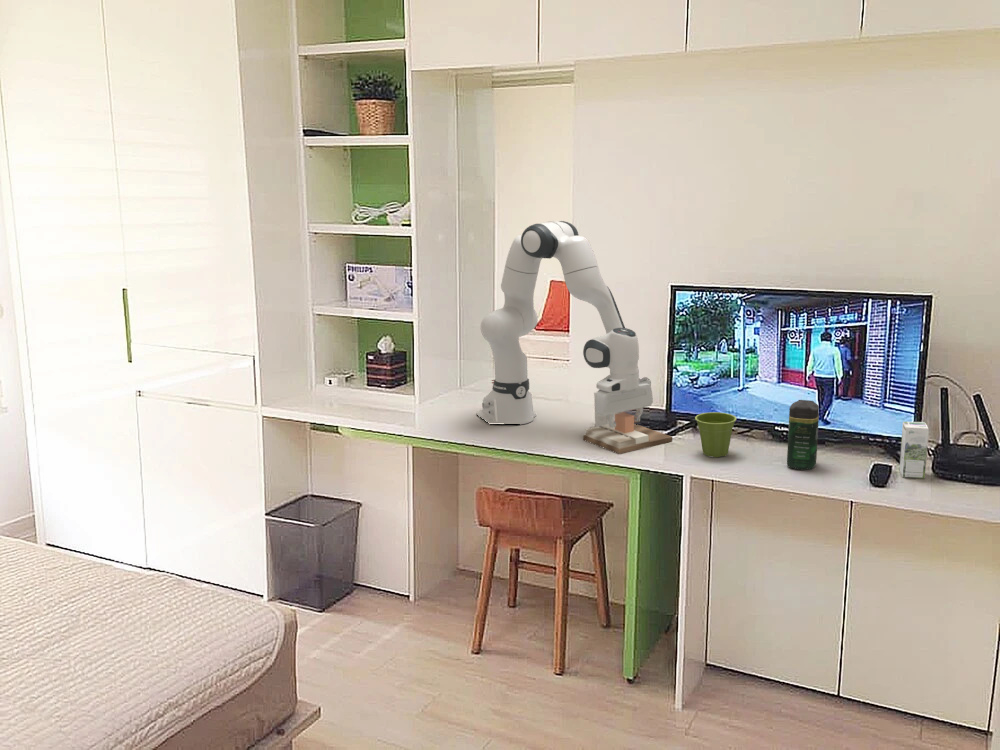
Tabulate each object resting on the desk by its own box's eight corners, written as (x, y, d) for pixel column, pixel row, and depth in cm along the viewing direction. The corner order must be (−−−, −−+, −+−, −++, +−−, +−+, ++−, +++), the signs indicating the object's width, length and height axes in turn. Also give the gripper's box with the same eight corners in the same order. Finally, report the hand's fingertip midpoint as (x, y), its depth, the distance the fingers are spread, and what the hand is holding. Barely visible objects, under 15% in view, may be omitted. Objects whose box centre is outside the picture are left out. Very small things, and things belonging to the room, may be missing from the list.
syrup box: (921, 472, 257) (925, 421, 253) (925, 479, 251) (929, 427, 248) (899, 471, 258) (902, 420, 255) (902, 478, 253) (905, 426, 249)
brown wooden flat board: (583, 439, 296) (583, 429, 295) (635, 428, 306) (635, 417, 305) (619, 454, 281) (618, 442, 280) (672, 441, 291) (672, 430, 290)
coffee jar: (814, 472, 259) (817, 407, 255) (784, 469, 263) (787, 405, 258) (818, 461, 268) (821, 398, 264) (789, 458, 271) (791, 396, 267)
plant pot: (692, 448, 284) (692, 412, 281) (731, 447, 283) (732, 411, 280) (697, 460, 272) (698, 423, 270) (739, 460, 272) (740, 422, 269)
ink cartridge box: (607, 420, 316) (607, 378, 313) (620, 422, 313) (620, 379, 310) (594, 426, 310) (593, 383, 306) (607, 428, 307) (606, 385, 303)
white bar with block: (601, 431, 298) (601, 410, 297) (613, 428, 301) (613, 407, 299) (635, 444, 284) (635, 422, 282) (648, 441, 287) (648, 419, 285)
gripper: (644, 374, 296) (644, 416, 299) (591, 384, 286) (592, 427, 289) (657, 377, 291) (657, 420, 294) (604, 388, 281) (605, 432, 284)
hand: (624, 424), depth 291 cm, fingers open, 8 cm apart
